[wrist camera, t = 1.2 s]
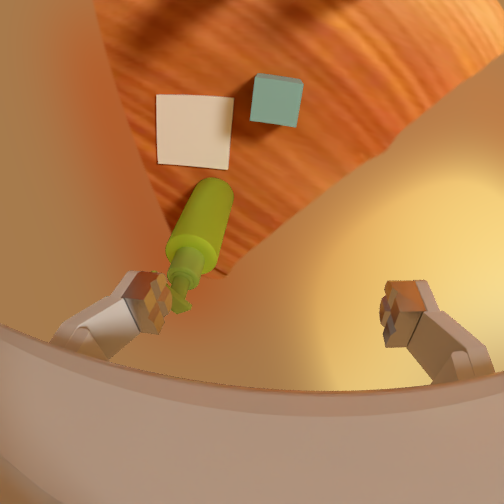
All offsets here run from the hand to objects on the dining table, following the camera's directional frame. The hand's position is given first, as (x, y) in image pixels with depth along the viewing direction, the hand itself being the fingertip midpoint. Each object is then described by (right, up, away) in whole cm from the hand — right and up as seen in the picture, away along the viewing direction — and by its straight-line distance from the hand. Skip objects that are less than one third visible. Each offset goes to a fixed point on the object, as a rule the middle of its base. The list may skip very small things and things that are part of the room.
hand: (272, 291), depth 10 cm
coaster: (-8, +17, +24) cm, 31 cm away
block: (+2, +20, +21) cm, 29 cm away
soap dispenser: (-7, +10, +31) cm, 33 cm away
